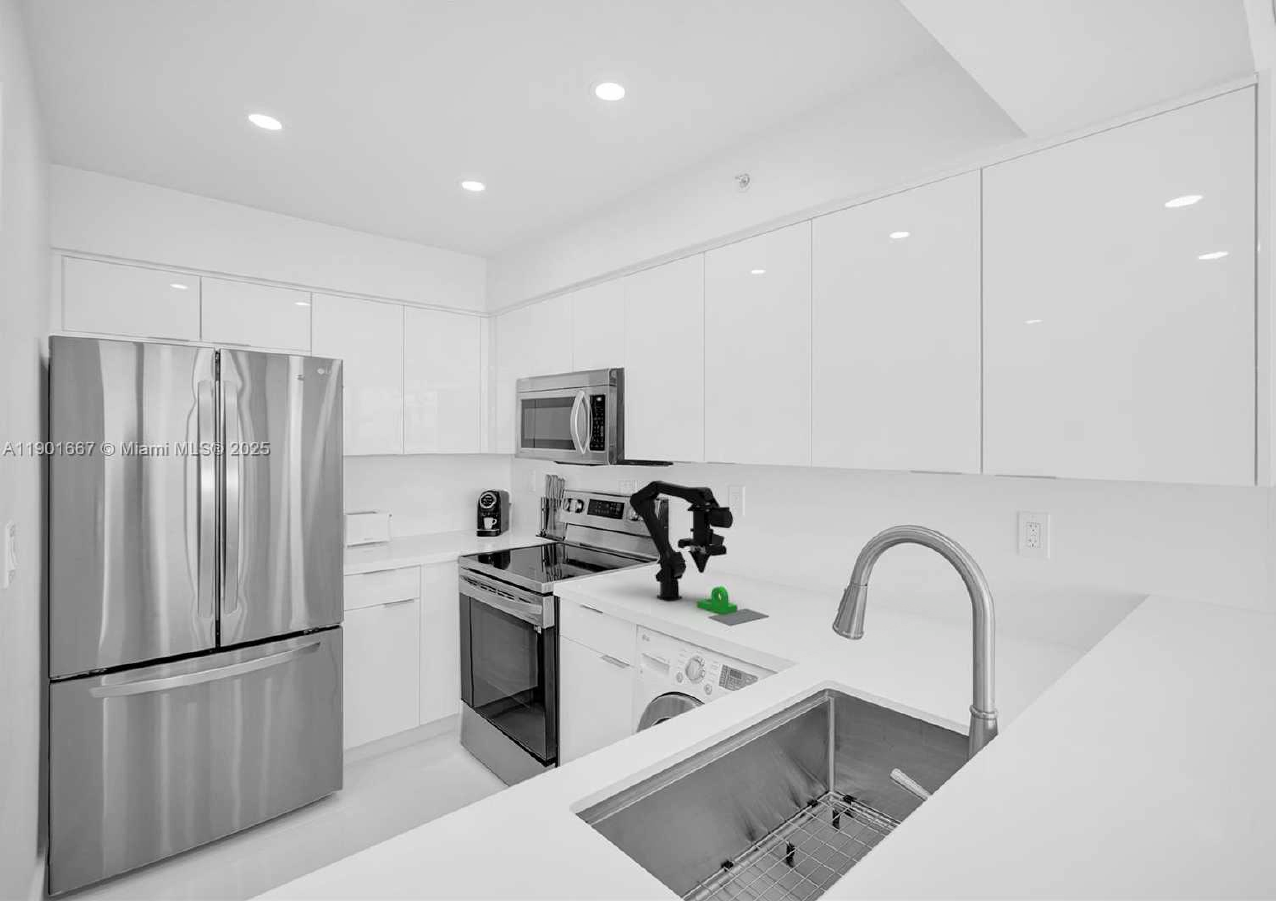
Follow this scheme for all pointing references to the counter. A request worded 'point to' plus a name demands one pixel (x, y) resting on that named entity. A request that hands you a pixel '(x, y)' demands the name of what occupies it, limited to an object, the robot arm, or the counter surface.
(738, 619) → the tool mat
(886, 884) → the counter surface
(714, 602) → the mechanical part
